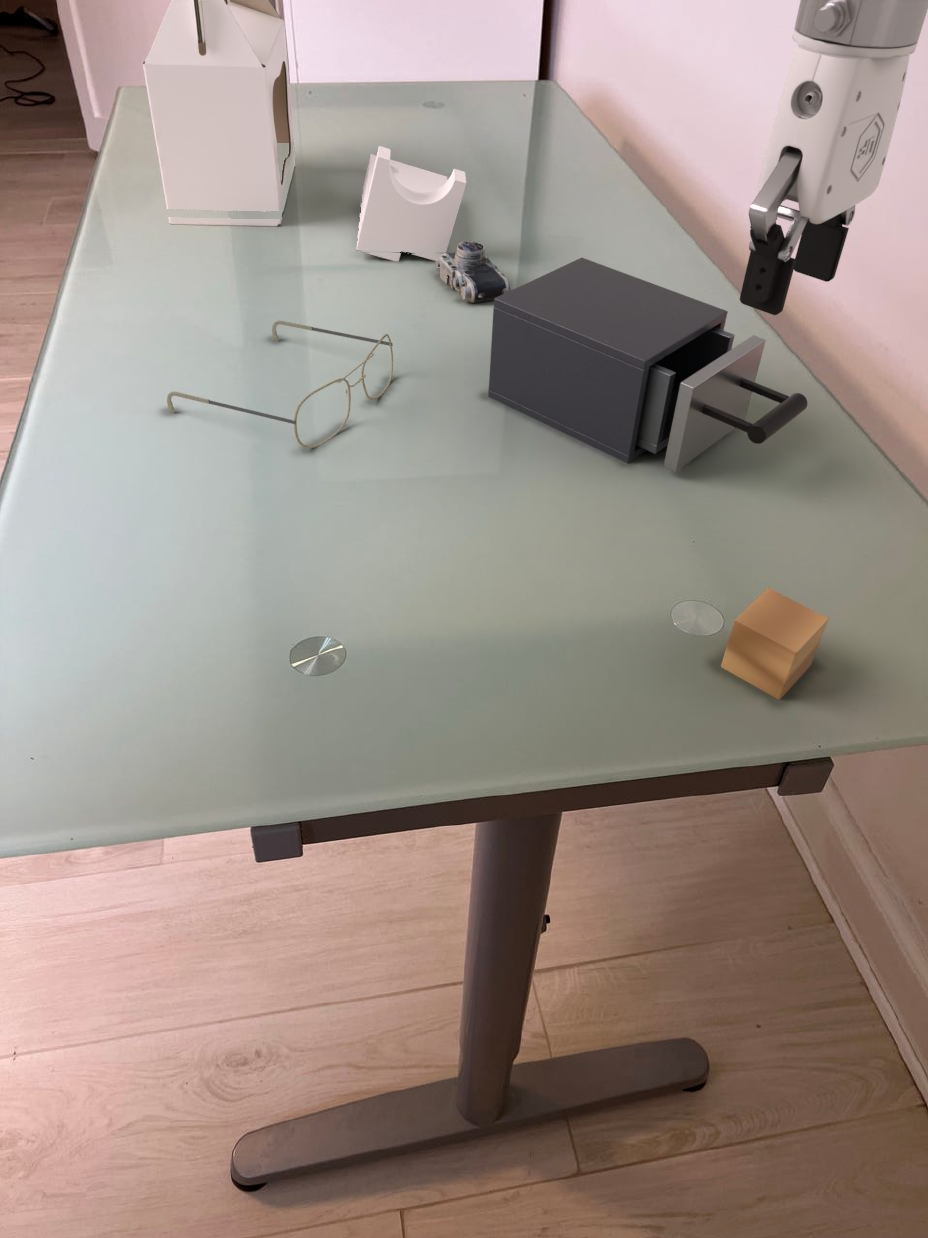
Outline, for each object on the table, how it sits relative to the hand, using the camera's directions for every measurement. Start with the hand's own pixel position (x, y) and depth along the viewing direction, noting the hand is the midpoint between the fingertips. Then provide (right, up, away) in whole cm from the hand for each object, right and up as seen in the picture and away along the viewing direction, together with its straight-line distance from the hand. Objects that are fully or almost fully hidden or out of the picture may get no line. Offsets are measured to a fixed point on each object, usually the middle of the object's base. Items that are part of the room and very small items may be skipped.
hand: (787, 289), depth 73 cm
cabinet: (-12, -5, +18) cm, 22 cm away
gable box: (-53, +30, +53) cm, 81 cm away
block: (-4, -28, -7) cm, 29 cm away
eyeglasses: (-40, -4, +17) cm, 43 cm away
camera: (-23, +12, +36) cm, 44 cm away
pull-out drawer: (-6, -8, +14) cm, 17 cm away
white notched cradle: (-30, +22, +46) cm, 60 cm away
